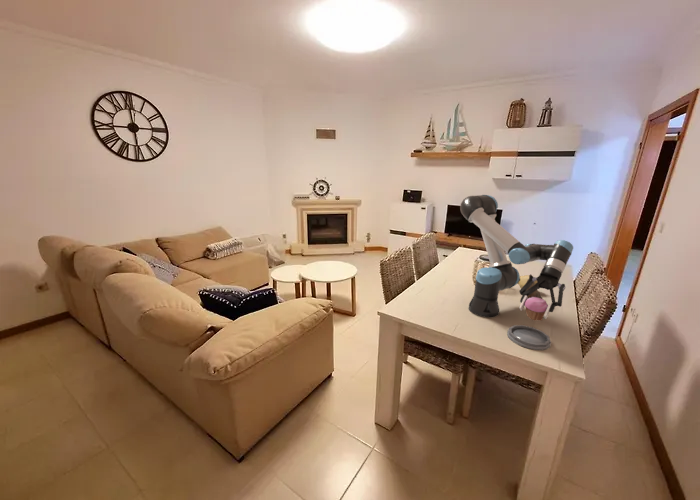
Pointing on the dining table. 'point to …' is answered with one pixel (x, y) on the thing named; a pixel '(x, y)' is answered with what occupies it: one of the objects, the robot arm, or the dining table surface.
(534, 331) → the slate plate
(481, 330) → the dining table surface
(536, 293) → the worn brown figurine
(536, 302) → the cupcake
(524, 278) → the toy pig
